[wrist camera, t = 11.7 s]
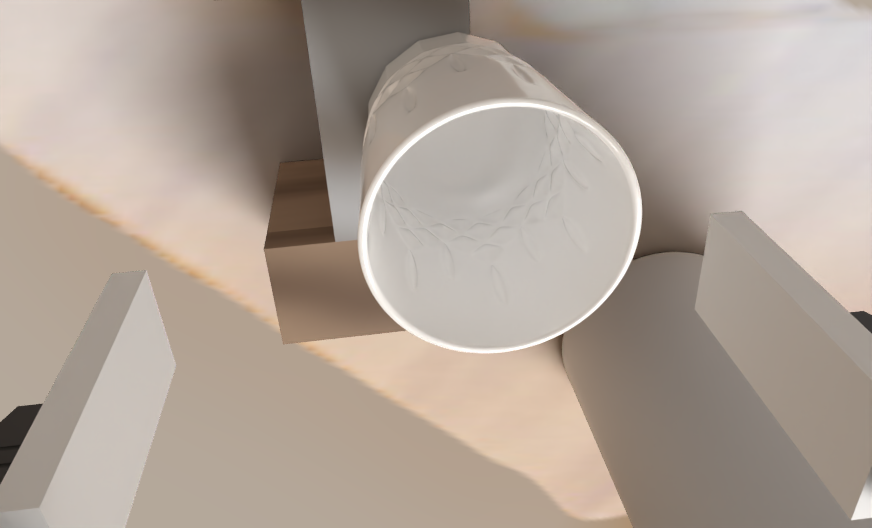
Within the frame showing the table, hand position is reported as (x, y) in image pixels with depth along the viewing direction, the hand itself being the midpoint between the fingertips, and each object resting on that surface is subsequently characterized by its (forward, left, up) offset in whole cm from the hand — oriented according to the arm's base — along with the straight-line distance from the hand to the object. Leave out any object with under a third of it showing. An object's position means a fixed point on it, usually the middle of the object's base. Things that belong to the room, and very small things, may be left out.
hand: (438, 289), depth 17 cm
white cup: (0, +2, -13) cm, 13 cm away
